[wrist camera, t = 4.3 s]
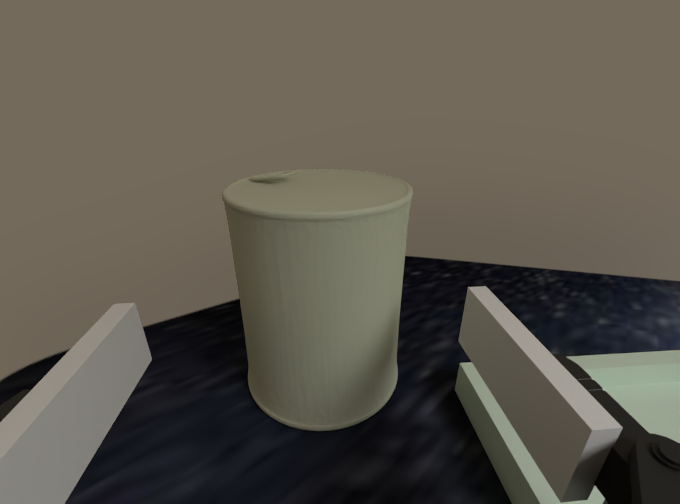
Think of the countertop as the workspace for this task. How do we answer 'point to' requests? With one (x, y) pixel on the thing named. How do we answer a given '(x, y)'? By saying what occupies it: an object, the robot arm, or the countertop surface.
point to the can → (320, 290)
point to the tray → (615, 378)
